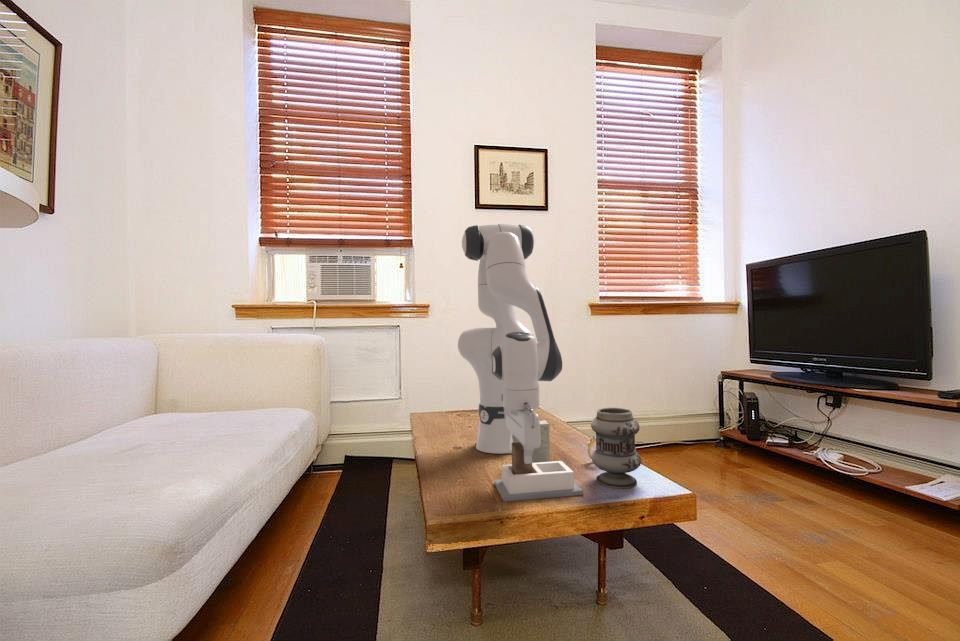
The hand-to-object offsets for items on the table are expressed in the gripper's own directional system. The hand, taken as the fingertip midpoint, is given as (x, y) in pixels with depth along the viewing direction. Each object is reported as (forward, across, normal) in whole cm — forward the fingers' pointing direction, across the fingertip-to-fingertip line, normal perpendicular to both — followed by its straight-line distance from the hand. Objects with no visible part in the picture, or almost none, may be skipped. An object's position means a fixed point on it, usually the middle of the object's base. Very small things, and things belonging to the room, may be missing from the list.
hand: (522, 456), depth 104 cm
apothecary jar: (+8, 0, -25) cm, 26 cm away
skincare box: (+8, +16, -9) cm, 21 cm away
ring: (+9, +15, -27) cm, 32 cm away
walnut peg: (+7, 0, 0) cm, 7 cm away
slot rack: (+8, 0, -4) cm, 9 cm away
